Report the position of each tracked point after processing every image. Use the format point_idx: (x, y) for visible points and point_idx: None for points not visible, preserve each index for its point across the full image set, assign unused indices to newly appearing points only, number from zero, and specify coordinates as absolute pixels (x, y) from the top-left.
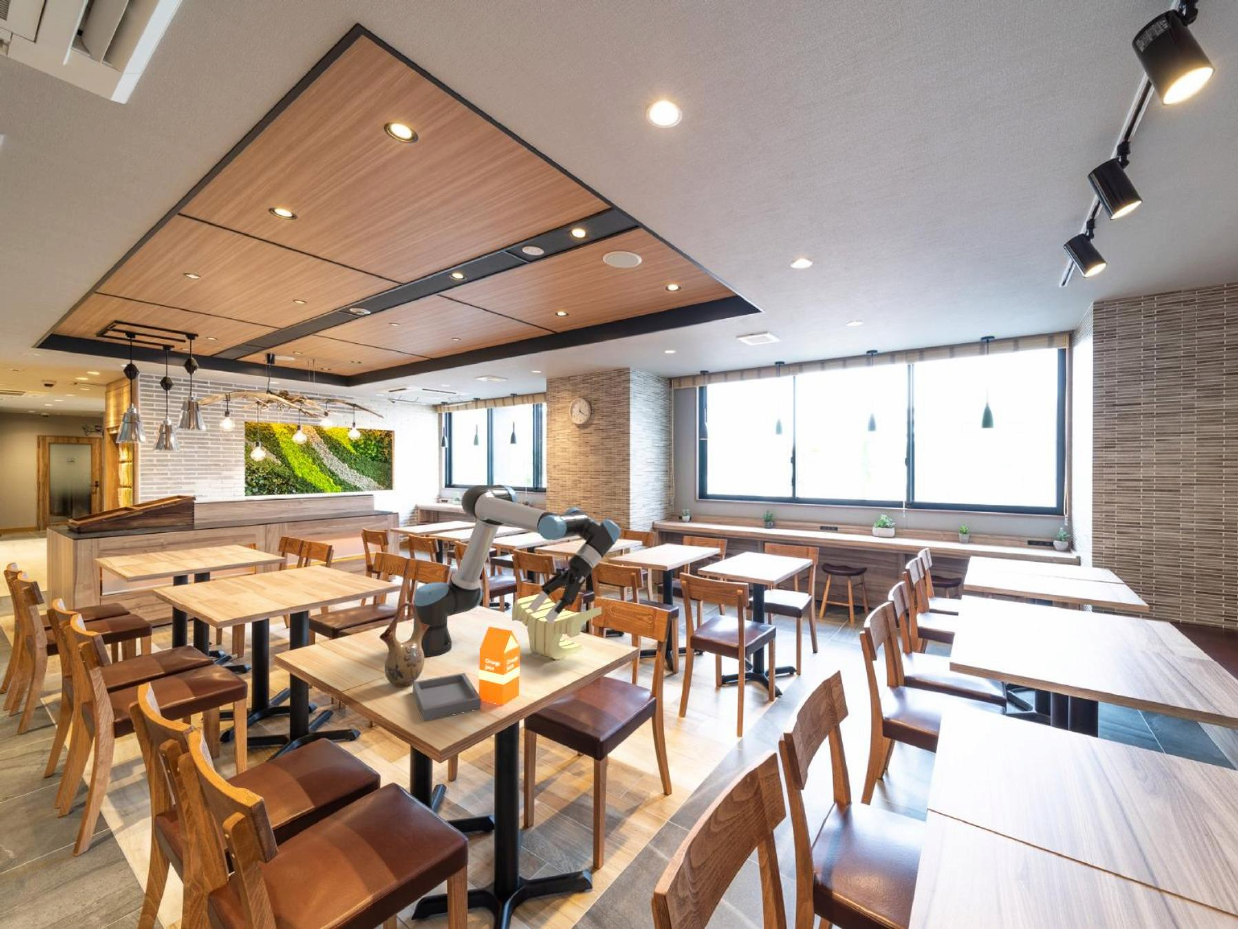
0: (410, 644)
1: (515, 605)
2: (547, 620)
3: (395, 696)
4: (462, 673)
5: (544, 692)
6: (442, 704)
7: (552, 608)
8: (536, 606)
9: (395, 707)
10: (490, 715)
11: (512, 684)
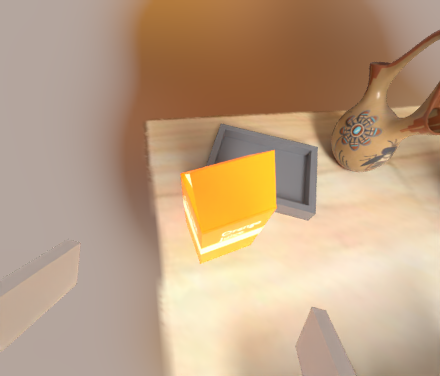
0: (378, 117)
1: None
2: (76, 264)
3: (308, 139)
4: (314, 209)
5: (175, 314)
6: (220, 142)
7: (12, 278)
8: (310, 363)
9: (276, 129)
10: (173, 192)
11: (193, 235)
